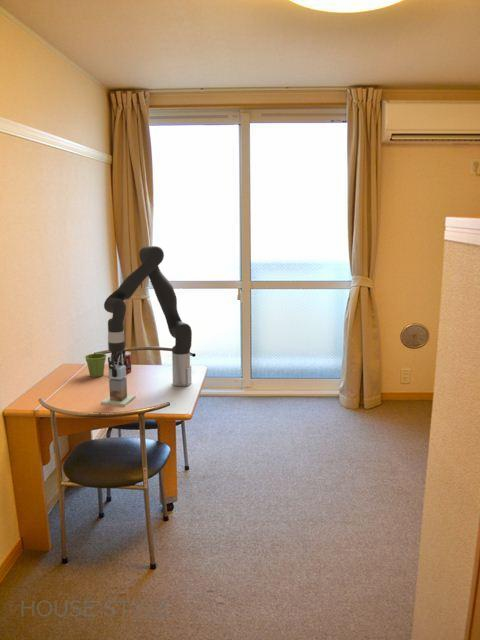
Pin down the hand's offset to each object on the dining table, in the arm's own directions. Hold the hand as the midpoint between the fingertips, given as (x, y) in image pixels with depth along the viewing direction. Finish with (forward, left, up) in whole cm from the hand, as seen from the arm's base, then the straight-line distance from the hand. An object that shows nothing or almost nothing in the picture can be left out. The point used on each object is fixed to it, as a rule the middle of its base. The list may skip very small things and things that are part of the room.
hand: (117, 374), depth 243 cm
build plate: (0, 0, -13) cm, 13 cm away
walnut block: (0, 0, -12) cm, 12 cm away
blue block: (0, 0, -1) cm, 1 cm away
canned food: (+17, -43, -13) cm, 48 cm away
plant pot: (+29, -33, -13) cm, 46 cm away
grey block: (0, 0, -7) cm, 7 cm away
